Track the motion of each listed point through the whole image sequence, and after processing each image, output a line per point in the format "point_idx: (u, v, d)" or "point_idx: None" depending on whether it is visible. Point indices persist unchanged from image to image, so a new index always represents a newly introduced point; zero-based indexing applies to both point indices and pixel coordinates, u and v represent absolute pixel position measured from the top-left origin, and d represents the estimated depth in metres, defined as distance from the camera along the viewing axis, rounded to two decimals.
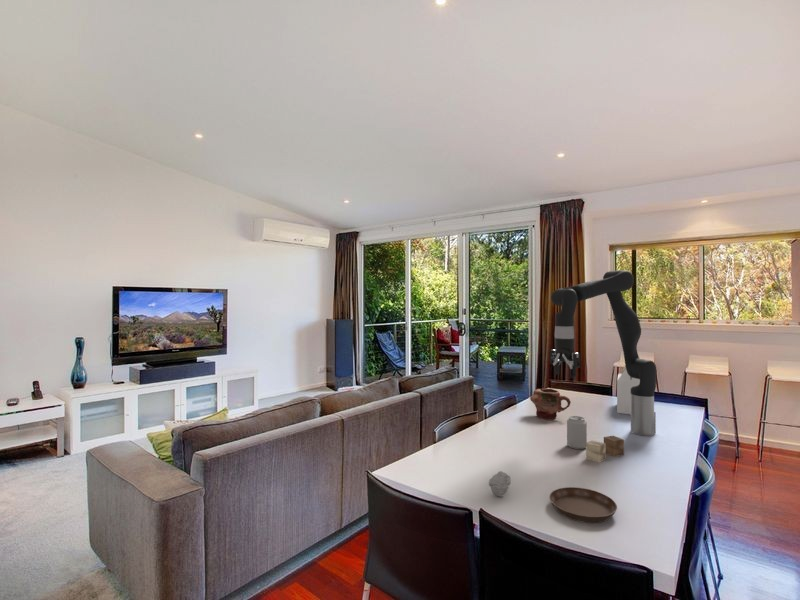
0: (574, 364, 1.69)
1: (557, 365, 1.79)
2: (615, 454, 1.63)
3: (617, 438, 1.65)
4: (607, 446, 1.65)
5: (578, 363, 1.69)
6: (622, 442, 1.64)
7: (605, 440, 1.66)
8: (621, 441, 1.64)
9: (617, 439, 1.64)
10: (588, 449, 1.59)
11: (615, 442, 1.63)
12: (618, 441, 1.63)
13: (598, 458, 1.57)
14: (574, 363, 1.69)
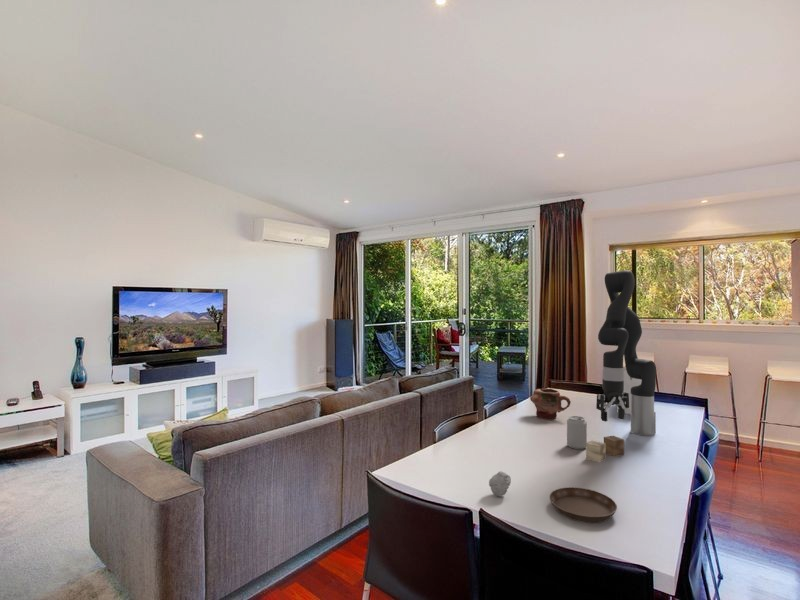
0: (627, 404, 1.67)
1: None
2: (615, 454, 1.63)
3: (617, 438, 1.65)
4: (607, 446, 1.65)
5: (624, 402, 1.69)
6: (622, 442, 1.64)
7: (605, 440, 1.66)
8: (621, 441, 1.64)
9: (617, 439, 1.64)
10: (588, 449, 1.59)
11: (615, 442, 1.63)
12: (618, 441, 1.63)
13: (598, 458, 1.57)
14: (627, 403, 1.67)
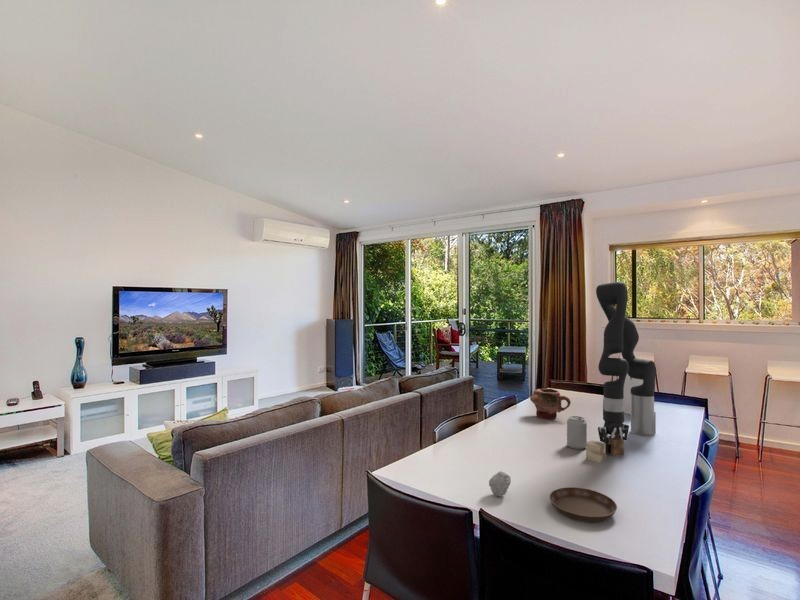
0: (625, 436, 1.66)
1: None
2: (615, 454, 1.63)
3: (617, 438, 1.65)
4: None
5: None
6: (622, 442, 1.64)
7: None
8: (621, 441, 1.64)
9: (617, 439, 1.64)
10: (588, 449, 1.60)
11: (615, 442, 1.63)
12: (618, 440, 1.63)
13: (598, 458, 1.57)
14: (626, 435, 1.66)
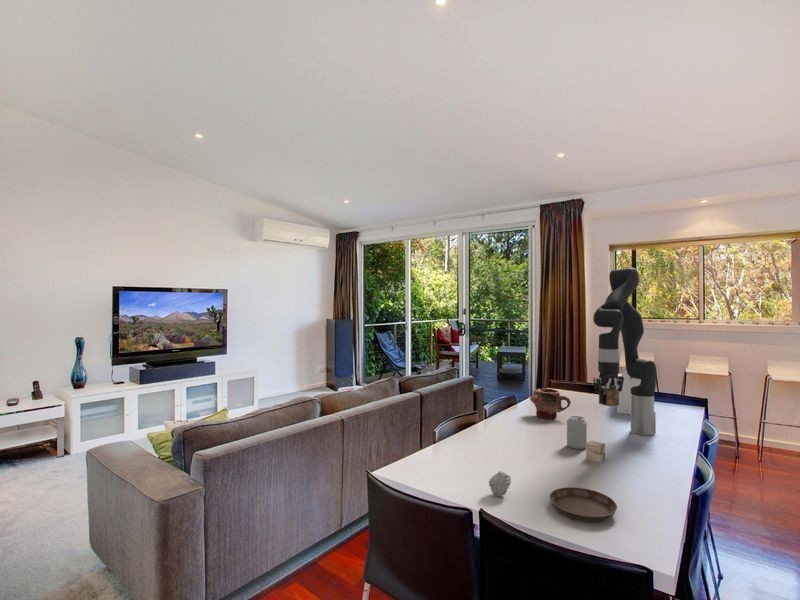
0: (620, 388, 1.67)
1: None
2: (610, 404, 1.63)
3: (612, 389, 1.66)
4: None
5: None
6: (617, 392, 1.65)
7: None
8: (616, 391, 1.65)
9: (612, 390, 1.65)
10: (588, 449, 1.60)
11: (611, 392, 1.64)
12: (613, 391, 1.64)
13: (598, 458, 1.57)
14: (621, 387, 1.67)
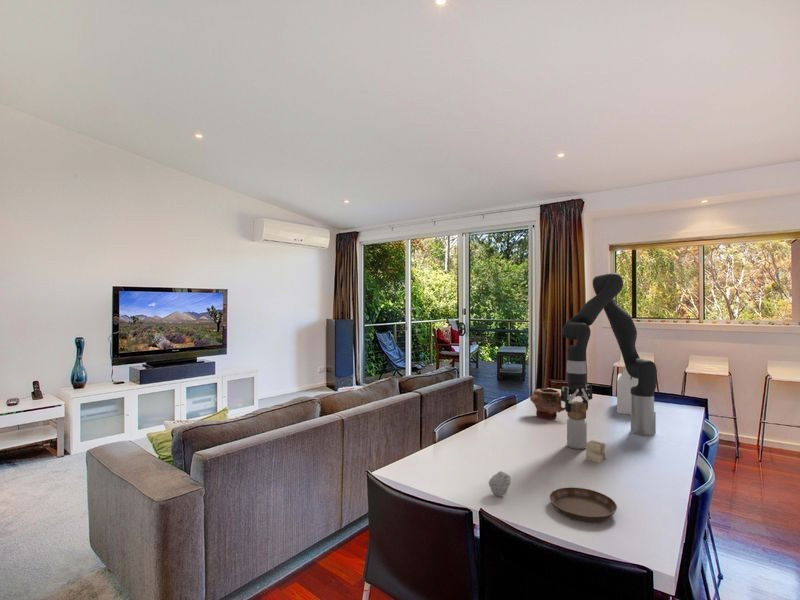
0: (591, 396, 1.74)
1: None
2: (577, 418, 1.70)
3: (580, 402, 1.73)
4: (571, 410, 1.73)
5: (587, 394, 1.76)
6: (584, 406, 1.71)
7: None
8: (583, 405, 1.71)
9: (580, 403, 1.72)
10: (588, 449, 1.60)
11: (578, 406, 1.70)
12: (580, 404, 1.71)
13: (598, 458, 1.57)
14: (591, 395, 1.74)
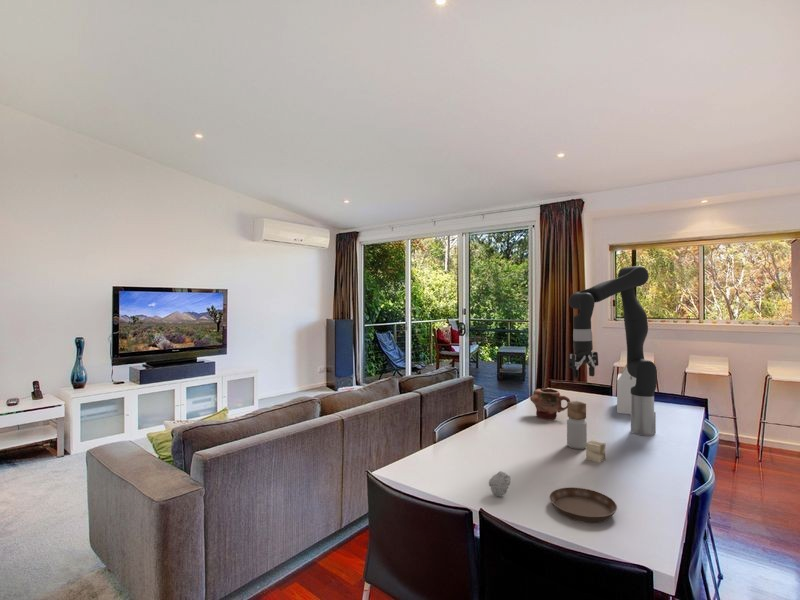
0: (597, 362, 1.82)
1: None
2: (577, 418, 1.70)
3: (580, 403, 1.73)
4: (571, 410, 1.73)
5: (593, 361, 1.84)
6: (584, 406, 1.71)
7: (569, 405, 1.74)
8: (583, 405, 1.71)
9: (580, 403, 1.72)
10: (588, 449, 1.60)
11: (578, 406, 1.70)
12: (580, 405, 1.71)
13: (598, 458, 1.57)
14: (597, 361, 1.82)
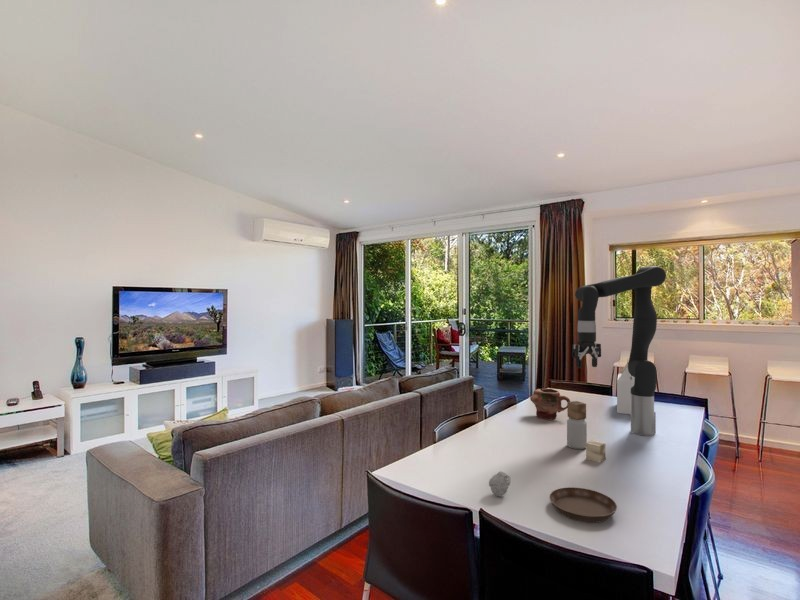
0: (600, 353, 1.89)
1: None
2: (577, 418, 1.70)
3: (580, 403, 1.73)
4: (571, 410, 1.73)
5: (596, 352, 1.91)
6: (584, 406, 1.71)
7: (569, 405, 1.74)
8: (583, 405, 1.71)
9: (580, 403, 1.72)
10: (588, 449, 1.60)
11: (578, 406, 1.70)
12: (580, 405, 1.71)
13: (598, 458, 1.57)
14: (600, 353, 1.89)
